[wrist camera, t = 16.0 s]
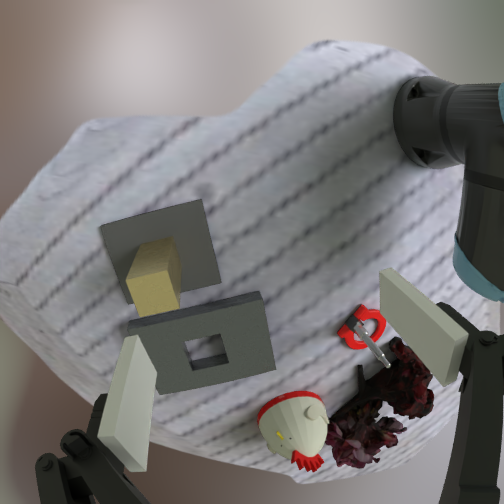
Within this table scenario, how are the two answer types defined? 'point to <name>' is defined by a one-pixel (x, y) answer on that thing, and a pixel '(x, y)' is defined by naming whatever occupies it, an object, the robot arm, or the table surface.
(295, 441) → the kitchen timer
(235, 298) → the socket plate
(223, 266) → the table surface
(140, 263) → the brass plug
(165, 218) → the rubber mat
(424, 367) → the flower arrangement
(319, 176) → the table surface
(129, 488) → the robot arm
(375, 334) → the tow hook
